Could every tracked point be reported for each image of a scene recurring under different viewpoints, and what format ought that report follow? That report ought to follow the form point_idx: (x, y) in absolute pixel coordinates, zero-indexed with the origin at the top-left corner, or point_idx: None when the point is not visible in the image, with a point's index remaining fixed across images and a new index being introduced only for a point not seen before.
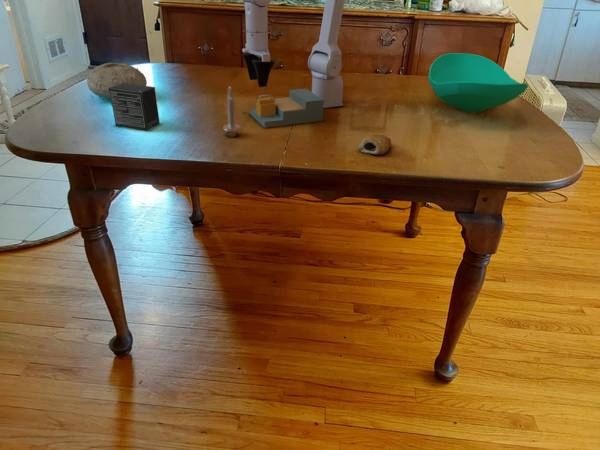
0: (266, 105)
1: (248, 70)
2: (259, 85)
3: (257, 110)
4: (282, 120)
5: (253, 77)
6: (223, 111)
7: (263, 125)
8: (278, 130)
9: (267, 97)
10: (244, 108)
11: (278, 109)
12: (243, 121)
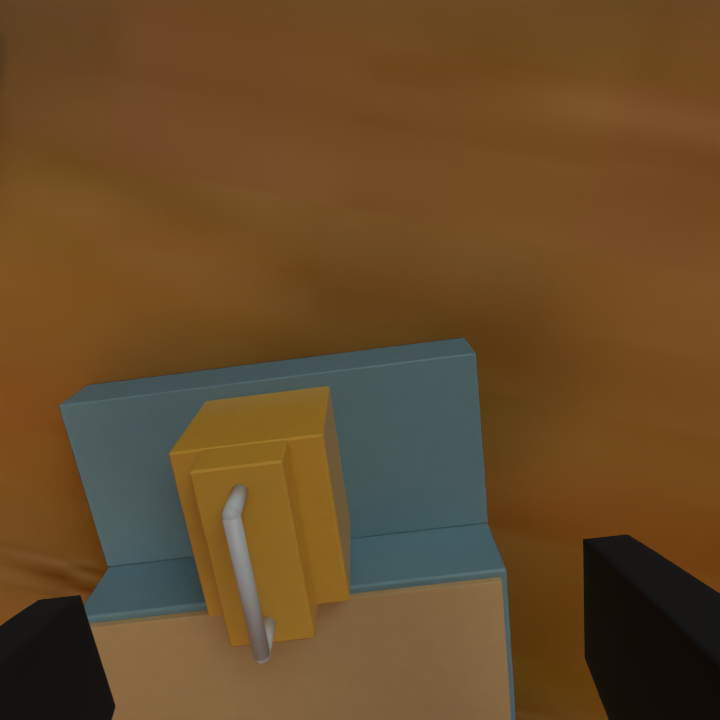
0: (186, 514)
1: (717, 668)
2: (9, 622)
3: (296, 401)
4: (108, 559)
5: (606, 627)
6: (653, 75)
7: (109, 385)
8: (27, 478)
9: (299, 585)
10: (670, 315)
11: (198, 596)
12: (294, 232)
